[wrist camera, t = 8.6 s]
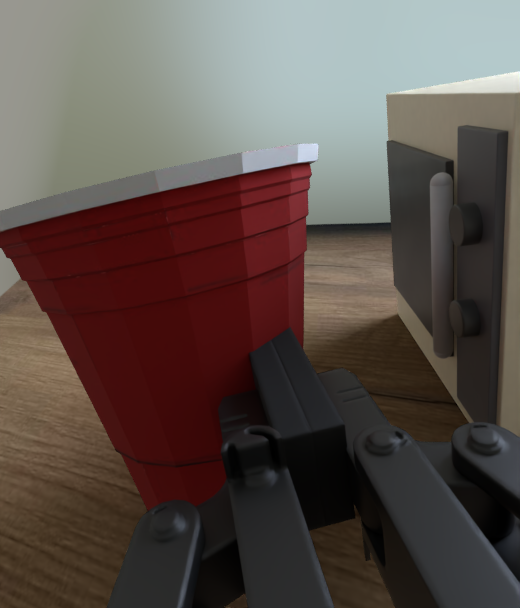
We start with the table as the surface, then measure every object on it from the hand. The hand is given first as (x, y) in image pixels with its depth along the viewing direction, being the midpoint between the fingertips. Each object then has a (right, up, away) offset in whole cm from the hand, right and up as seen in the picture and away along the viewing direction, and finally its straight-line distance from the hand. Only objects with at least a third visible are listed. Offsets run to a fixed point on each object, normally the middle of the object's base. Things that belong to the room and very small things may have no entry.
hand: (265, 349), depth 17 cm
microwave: (+14, -1, +8) cm, 16 cm away
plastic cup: (-2, -6, +2) cm, 6 cm away
